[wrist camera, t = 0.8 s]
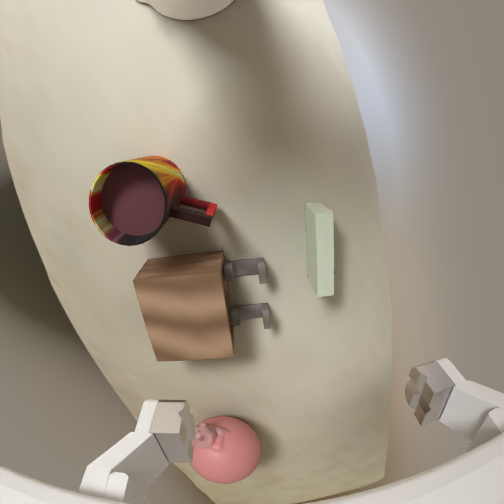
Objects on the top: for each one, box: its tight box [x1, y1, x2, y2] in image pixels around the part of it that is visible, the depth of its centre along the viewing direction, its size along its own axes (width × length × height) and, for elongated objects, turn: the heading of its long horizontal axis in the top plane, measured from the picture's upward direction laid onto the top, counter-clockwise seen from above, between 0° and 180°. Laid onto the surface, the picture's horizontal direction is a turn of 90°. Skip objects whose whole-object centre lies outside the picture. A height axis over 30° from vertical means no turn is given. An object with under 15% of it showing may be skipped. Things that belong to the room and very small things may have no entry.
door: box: [304, 202, 335, 297], centre depth 44 cm, size 12×3×7 cm, turn 6°
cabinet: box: [133, 251, 271, 361], centre depth 46 cm, size 14×18×8 cm
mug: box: [89, 156, 217, 246], centre depth 38 cm, size 10×14×12 cm
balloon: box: [190, 416, 261, 484], centre depth 53 cm, size 15×20×15 cm
